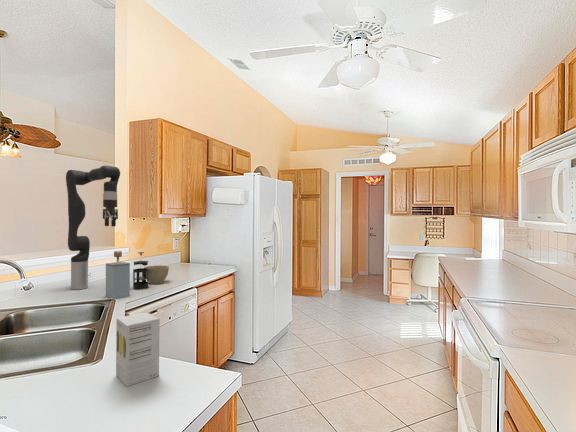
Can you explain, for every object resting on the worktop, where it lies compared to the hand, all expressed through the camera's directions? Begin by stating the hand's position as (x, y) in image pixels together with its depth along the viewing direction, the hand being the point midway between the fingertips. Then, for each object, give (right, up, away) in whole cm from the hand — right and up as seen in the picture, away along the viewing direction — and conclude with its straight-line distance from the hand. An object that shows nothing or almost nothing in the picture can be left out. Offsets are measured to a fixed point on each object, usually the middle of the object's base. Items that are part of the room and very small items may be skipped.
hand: (110, 226), depth 195 cm
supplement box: (+63, -41, -100) cm, 125 cm away
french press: (+12, -40, +15) cm, 45 cm away
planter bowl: (+16, -41, +31) cm, 53 cm away
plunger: (+9, -38, -8) cm, 40 cm away
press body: (+9, -40, -8) cm, 42 cm away
